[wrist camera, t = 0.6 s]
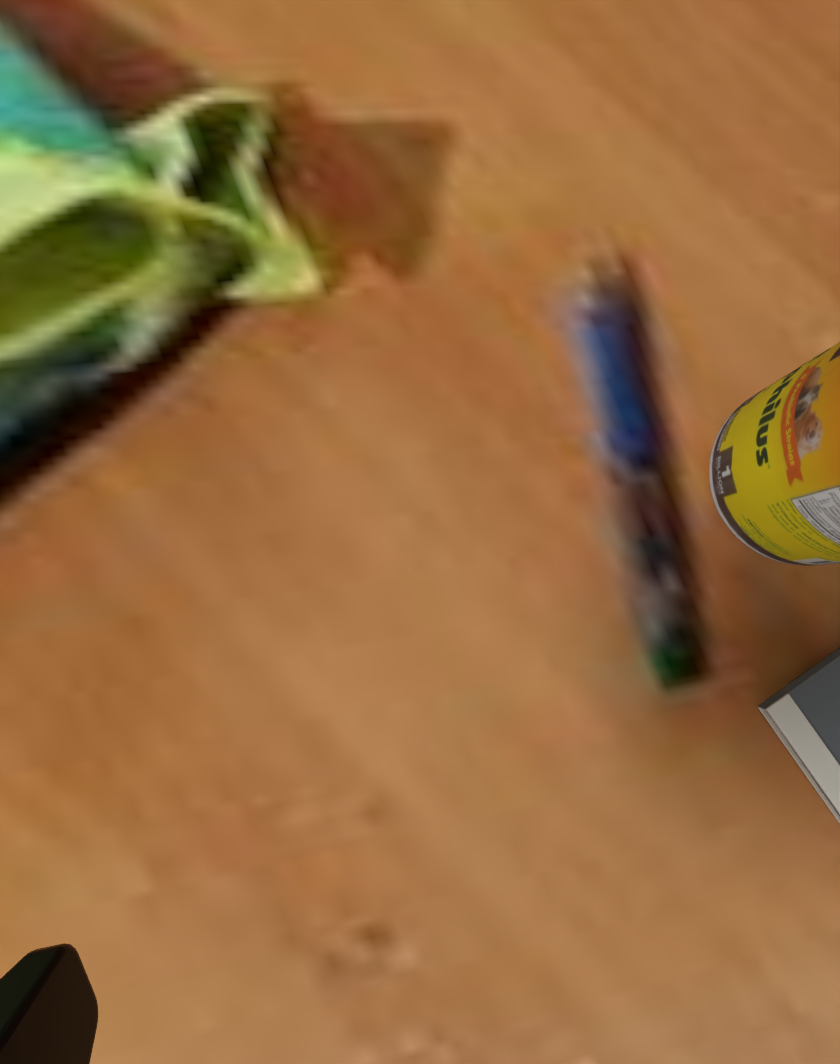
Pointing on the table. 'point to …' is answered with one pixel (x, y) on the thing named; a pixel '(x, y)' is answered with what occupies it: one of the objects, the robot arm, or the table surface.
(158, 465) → the table surface
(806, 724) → the mat
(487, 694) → the table surface
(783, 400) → the supplement bottle
